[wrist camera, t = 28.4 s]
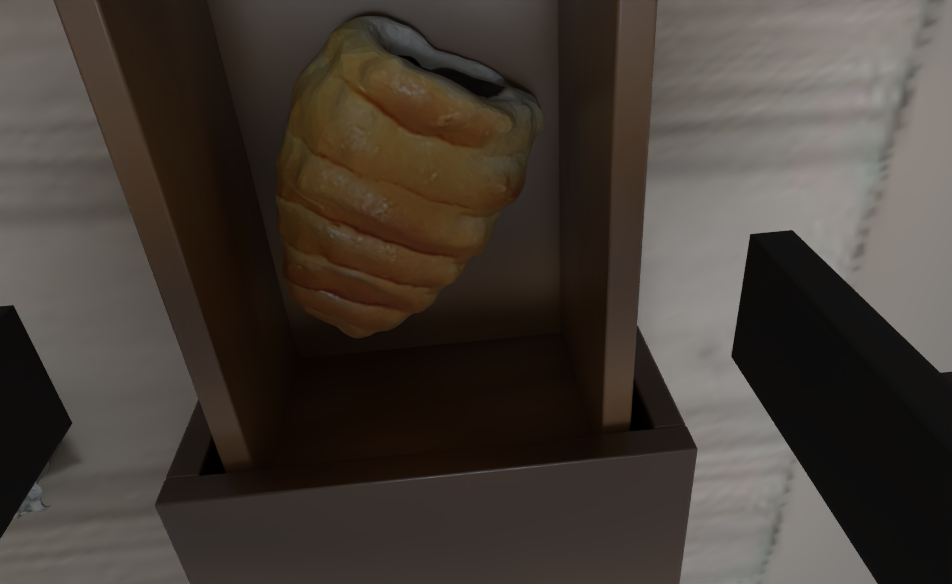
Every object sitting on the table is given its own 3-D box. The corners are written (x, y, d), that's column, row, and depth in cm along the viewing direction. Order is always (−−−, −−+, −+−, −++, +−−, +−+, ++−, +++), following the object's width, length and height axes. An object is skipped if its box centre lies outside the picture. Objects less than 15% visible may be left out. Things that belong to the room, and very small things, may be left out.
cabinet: (239, 298, 26) (153, 505, 17) (608, 262, 26) (698, 448, 18) (326, 596, 35) (298, 823, 27) (597, 566, 35) (653, 782, 27)
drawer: (16, -503, 14) (-341, -834, 8) (619, -544, 15) (792, -895, 8) (264, 361, 26) (211, 532, 19) (596, 328, 26) (658, 485, 20)
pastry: (431, 331, 24) (432, 402, 21) (240, 269, 23) (209, 336, 19) (552, 84, 20) (577, 125, 17) (329, -16, 18) (309, 8, 15)
